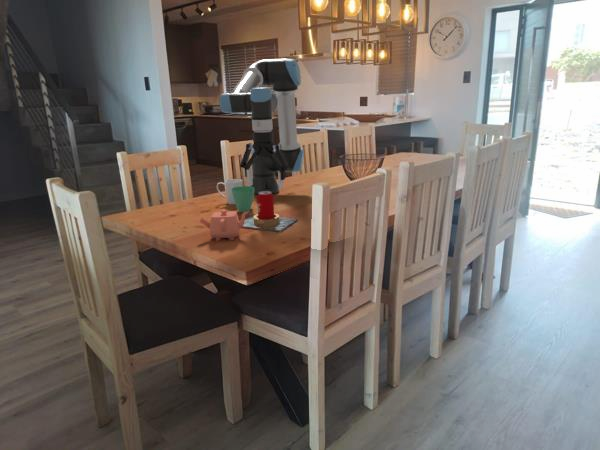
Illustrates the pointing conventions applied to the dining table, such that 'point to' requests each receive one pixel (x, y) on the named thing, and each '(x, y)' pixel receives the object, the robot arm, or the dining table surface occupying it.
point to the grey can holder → (269, 223)
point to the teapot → (224, 224)
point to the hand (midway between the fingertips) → (265, 186)
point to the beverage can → (265, 205)
